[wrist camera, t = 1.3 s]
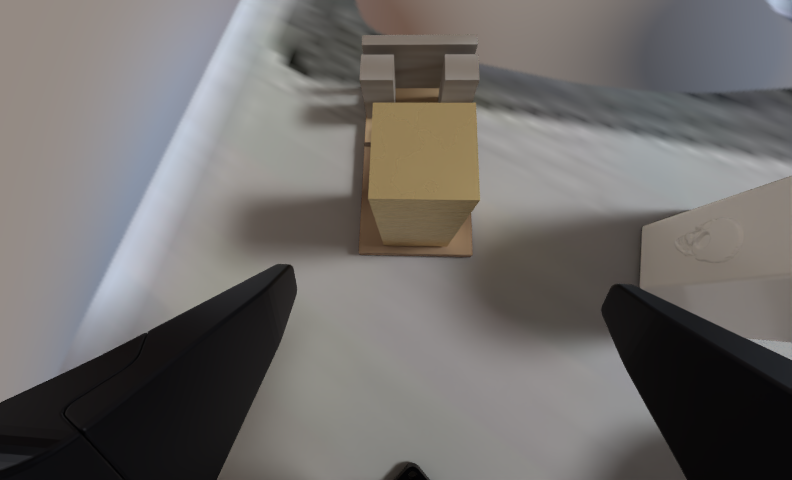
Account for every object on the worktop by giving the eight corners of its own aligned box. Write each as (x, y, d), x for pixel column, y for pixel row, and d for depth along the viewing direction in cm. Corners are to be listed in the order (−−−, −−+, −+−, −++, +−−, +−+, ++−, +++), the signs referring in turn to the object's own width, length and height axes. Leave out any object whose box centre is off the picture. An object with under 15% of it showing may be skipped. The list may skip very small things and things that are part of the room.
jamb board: (469, 256, 21) (488, 242, 16) (360, 254, 21) (347, 240, 17) (464, 85, 24) (478, 33, 20) (369, 86, 25) (361, 34, 20)
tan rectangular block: (447, 246, 20) (479, 200, 11) (384, 245, 20) (368, 198, 12) (445, 126, 22) (471, 9, 13) (388, 126, 22) (377, 10, 14)
